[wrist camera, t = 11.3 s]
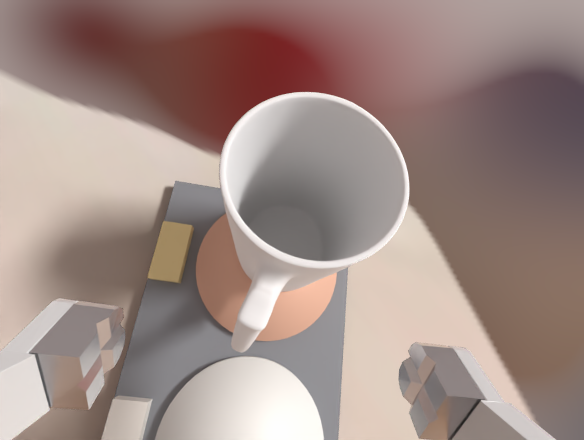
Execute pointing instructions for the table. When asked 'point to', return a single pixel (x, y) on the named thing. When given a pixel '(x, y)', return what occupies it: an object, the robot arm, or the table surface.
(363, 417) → the table surface
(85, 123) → the table surface
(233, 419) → the grey food tray
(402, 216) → the mug
